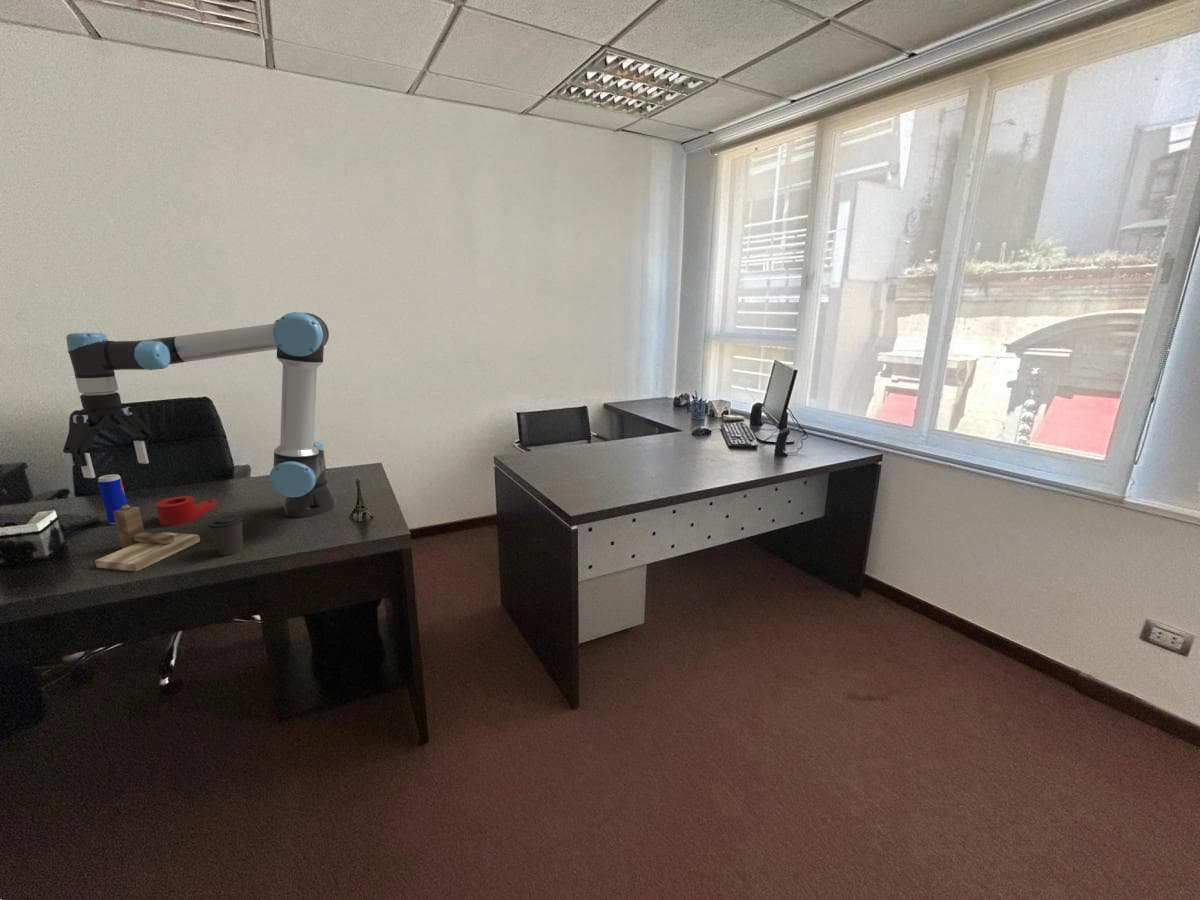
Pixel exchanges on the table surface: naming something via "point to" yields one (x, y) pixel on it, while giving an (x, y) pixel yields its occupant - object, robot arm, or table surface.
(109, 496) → the beverage can
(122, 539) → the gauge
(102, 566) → the board
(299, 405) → the robot arm
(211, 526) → the coffee cup
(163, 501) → the lever
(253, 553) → the table surface
